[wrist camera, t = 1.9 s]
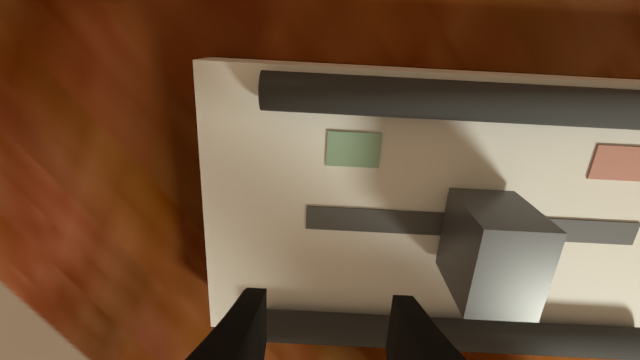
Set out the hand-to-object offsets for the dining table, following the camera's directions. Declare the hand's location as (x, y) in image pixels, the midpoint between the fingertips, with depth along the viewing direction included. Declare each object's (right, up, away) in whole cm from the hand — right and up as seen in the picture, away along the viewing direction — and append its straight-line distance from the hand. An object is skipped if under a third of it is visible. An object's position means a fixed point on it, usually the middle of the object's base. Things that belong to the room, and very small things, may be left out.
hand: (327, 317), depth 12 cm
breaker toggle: (+7, +2, +6) cm, 10 cm away
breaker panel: (+7, +3, +9) cm, 12 cm away
